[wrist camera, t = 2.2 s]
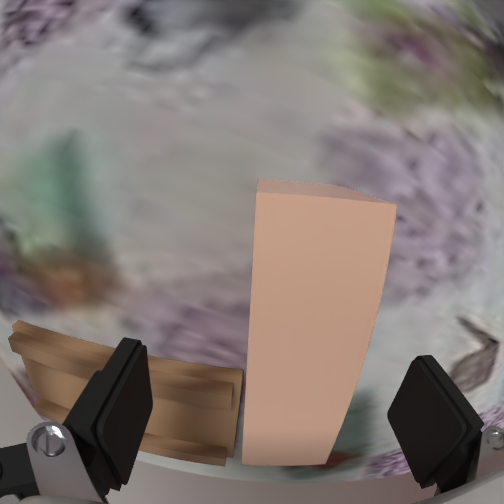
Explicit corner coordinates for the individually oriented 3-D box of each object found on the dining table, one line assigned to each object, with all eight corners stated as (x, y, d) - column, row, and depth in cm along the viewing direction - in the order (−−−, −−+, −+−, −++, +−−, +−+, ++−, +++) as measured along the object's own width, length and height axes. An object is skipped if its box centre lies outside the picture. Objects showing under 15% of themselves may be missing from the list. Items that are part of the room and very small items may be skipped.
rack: (242, 369, 18) (240, 393, 15) (233, 448, 20) (231, 468, 18) (18, 320, 18) (3, 333, 15) (46, 399, 20) (35, 414, 18)
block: (337, 185, 14) (396, 205, 8) (309, 377, 18) (325, 463, 11) (258, 178, 14) (256, 192, 8) (247, 375, 18) (241, 464, 11)
